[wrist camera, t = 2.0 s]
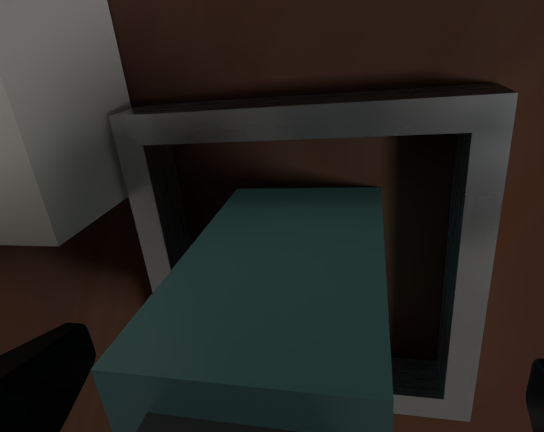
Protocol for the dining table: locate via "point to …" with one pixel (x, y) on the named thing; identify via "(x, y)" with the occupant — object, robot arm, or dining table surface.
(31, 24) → the frame
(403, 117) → the open square ring
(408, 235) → the dining table surface
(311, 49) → the dining table surface
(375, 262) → the plug
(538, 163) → the dining table surface
